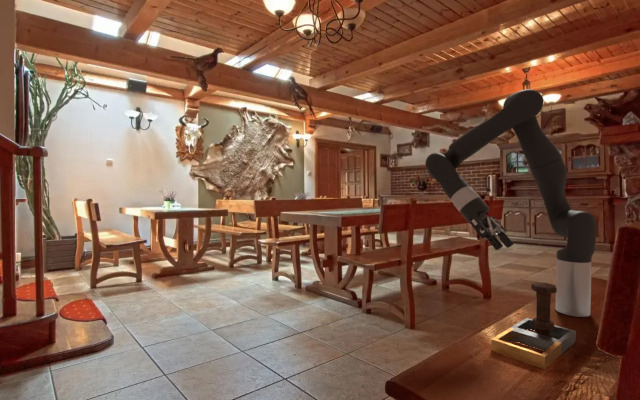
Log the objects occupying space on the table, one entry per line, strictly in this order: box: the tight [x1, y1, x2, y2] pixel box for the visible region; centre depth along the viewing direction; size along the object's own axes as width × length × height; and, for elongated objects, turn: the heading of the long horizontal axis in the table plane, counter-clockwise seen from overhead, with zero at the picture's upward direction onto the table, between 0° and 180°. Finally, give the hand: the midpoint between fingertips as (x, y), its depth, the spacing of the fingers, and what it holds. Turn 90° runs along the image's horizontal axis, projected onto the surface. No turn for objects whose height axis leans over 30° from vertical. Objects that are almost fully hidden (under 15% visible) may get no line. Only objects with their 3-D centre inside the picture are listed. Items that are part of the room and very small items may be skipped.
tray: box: [490, 317, 577, 370], centre depth 92 cm, size 22×12×3 cm, turn 129°
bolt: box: [530, 282, 557, 337], centre depth 95 cm, size 6×5×15 cm
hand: (505, 247), depth 102 cm, fingers open, 8 cm apart
